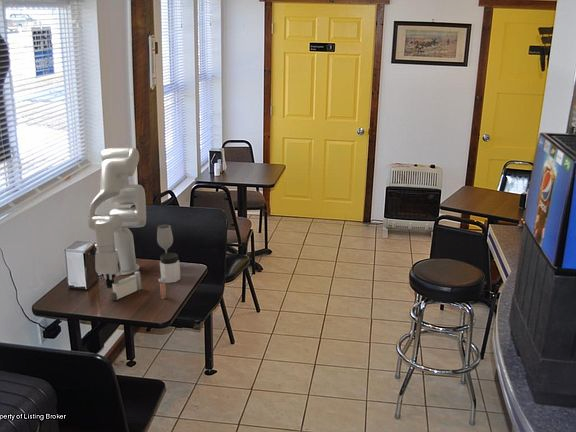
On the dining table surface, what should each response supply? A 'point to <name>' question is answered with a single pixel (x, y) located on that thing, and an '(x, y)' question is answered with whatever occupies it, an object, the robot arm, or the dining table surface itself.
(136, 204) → the robot arm
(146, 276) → the dining table surface
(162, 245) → the wineglass
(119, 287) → the gate
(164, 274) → the jar
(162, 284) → the end post
